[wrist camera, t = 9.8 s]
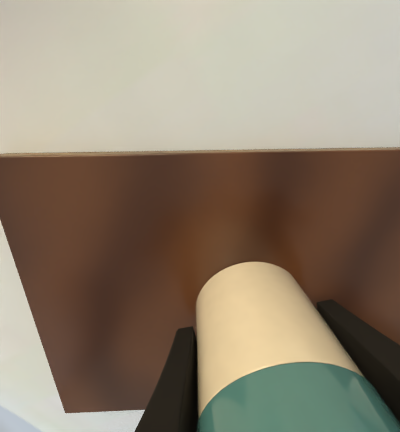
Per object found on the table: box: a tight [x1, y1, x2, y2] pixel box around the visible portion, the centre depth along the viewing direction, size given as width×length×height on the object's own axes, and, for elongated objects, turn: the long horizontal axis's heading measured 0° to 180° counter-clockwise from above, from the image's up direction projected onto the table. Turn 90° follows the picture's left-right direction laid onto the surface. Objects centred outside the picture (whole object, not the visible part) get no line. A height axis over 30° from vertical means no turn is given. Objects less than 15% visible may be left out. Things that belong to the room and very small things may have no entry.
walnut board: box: [0, 147, 400, 413], centre depth 11 cm, size 20×14×1 cm
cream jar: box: [196, 262, 400, 432], centre depth 8 cm, size 5×5×6 cm
